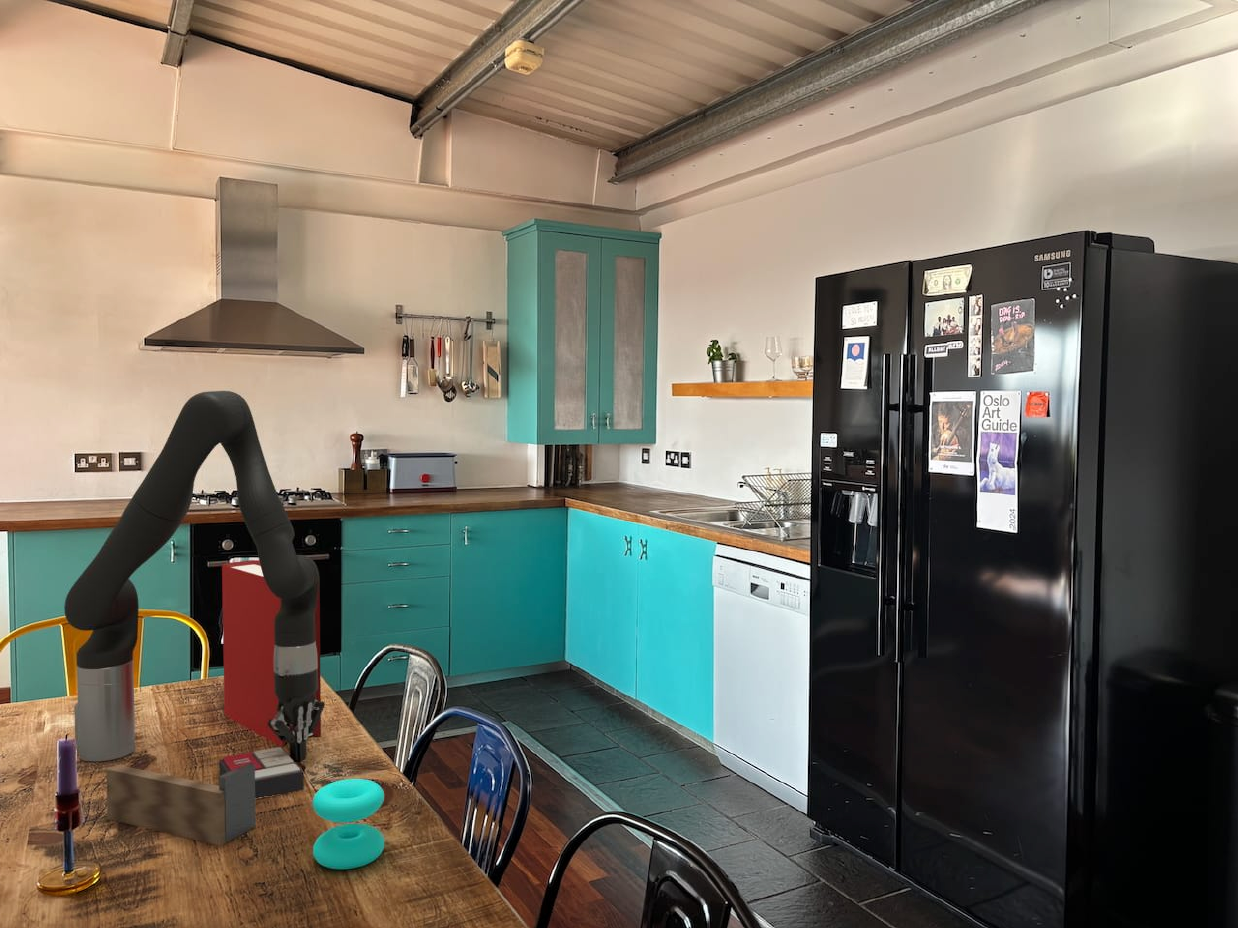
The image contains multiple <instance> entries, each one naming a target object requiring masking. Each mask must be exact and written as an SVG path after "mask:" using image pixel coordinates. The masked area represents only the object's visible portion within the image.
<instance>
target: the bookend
mask: <svg viewBox="0 0 1238 928" xmlns="http://www.w3.org/2000/svg"><path fill="white" fill-rule="evenodd" d="M218 786H219V790H223V791H225V832H226V843H225V844H229V842H231V841H233V840H235V839H237V838H239V837H240V836H243V834H245V833H246V834H247V832H249V831H250V830H253V829H254V827H255V828H256V826H257V825H256V823H257V820H256V818H257V817H256V816H257V815H256V800H255V764H253V763H247V764H245V765H243V766H240V767H238V768H236V769H234V770H232V771H230V772H228V773H225V774H223V775H221V776H220V775H219V776H218ZM252 828H253V829H252Z"/></svg>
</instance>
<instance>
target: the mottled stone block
mask: <svg viewBox="0 0 1238 928" xmlns="http://www.w3.org/2000/svg"><path fill="white" fill-rule="evenodd" d="M105 771H106V805H107V807H106V809H107V820H110V821H114V822H119V823H123V824H126V825H132V826H135V827H139V828H143V829H148V830H152V831H156V832H160V833H164V834H168V835H169V834H170V835H173V836H177V837H181V838H186V839H190V840H193V841H194V840H195V841H197V842H201V843H206V844H210V845H215V846H218V847H221V846H223V845H225V844H227V843H226V832H225V791H223V790H219V785H216V784H211V783H206V782H201V781H196V780H192V779H186V778H182V777H177V776H173V775H168V774H162V773H158V772H154V771H149V770H145V769H140V768H139V769H138V768H135V767H134V768H133V767H129V766H125V765H120V764H115V765H113V766H111V767H109V768H106V769H105Z"/></svg>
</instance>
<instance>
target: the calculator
mask: <svg viewBox="0 0 1238 928" xmlns="http://www.w3.org/2000/svg"><path fill="white" fill-rule="evenodd" d="M218 762H219V765H218V766H219V776H221V775H223V774H225V773H228V772H230V771H232V770H234V769H236V768H238V767H240V766H243V765H245V764H247V763H253V764H255V798H259V797H264V796H272V795H277V794H281V795H284V794H283V793H286V794H289V793H288V792H291V793H294V792H293V791H296V792H300V791H299V790H301V791H303V790H304V789H305V787H304V780H305V779H304V771H303V769H302V768H301V767H300V765H298V764H297V762H294V761H293V760H292V759H291V758H290V754H288V753H287V752H286V751H285V750H284V748H283V747H281V746H278V747H272V748H271V747H270V748H267V749H261V750H255V751H253V753H251V752H244V753H238V754H233V755H227V756H223V757H222V759H220V760H219V761H218ZM277 796H278V795H277ZM272 797H273V796H272Z"/></svg>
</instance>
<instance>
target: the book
mask: <svg viewBox="0 0 1238 928" xmlns="http://www.w3.org/2000/svg"><path fill="white" fill-rule="evenodd" d="M221 571H222V572H221V575H222V576H221V577H222V578H221V580H222V581H221V584H222V587H221V588H222V635H223V636H222V638H223V641H222V643H223V645H222V648H223V649H222V650H223V699H224V701H223V706H224V707H223V709H224V713H223V714H224V716H225V717H226V718H228V719H230V720H232V721H234V722H236V723H237V724H240V725H241V726H243V727H244V728H247V729H248V730H250V731H252V732H254V733H256V734H257V735H260V736H261V737H263V738H265V739H266V738H267V739H266V740H268V739H269V740H268V741H270V740H271V741H270V742H272V741H273V742H272V743H274V744H276V745H277V744H278V746H279V745H280V746H279V747H281V746H282V747H281V748H283V747H284V746H285V745H286V743H287V742H283V741H280V740H279V738H278V737H277V736H276V735H275V733H274V732H273V731H272V730H271V728H270V727H269V726H268V720H269V719H274V718H275V716H276V715H277V713H278V712H277V706H278V702H279V699H278V697H277V696H276V695H275V693H274V661H273V657H274V647H275V641H274V620H275V616H276V614H277V613H278V611H279V610H280V607H281V598H278V597H277V596H275V595H274V594H273V593H272V592H271V590H270V589H269V588H268V586H267V584H266V582H265V579H264V576H263V573H262V569H261V565H260V561H259V559H258V560H255V559H254V560H253V559H251V560H240V561H234V562H232V561H231V562H225V563H223V564H222V565H221ZM320 579H321V578H320V576H319V591H318V599H317V606H316V610H315V641H316V648H317V661H318V690H317V691H316V692H315V696H316V700H317V701H320V702H322V700H321V699H322V695H321V692H322V691H321V603H320V601H321V597H320V595H321V594H320V592H321V590H320V588H321V587H320V586H321V585H320ZM311 722H312V720H311ZM310 736H316V737H320V738H321V737H322V715H321V716H320V718H319V721H318V723H317V726H316V728H315V731H314V732H313V733H310V734H309V735H308V737H310Z"/></svg>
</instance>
